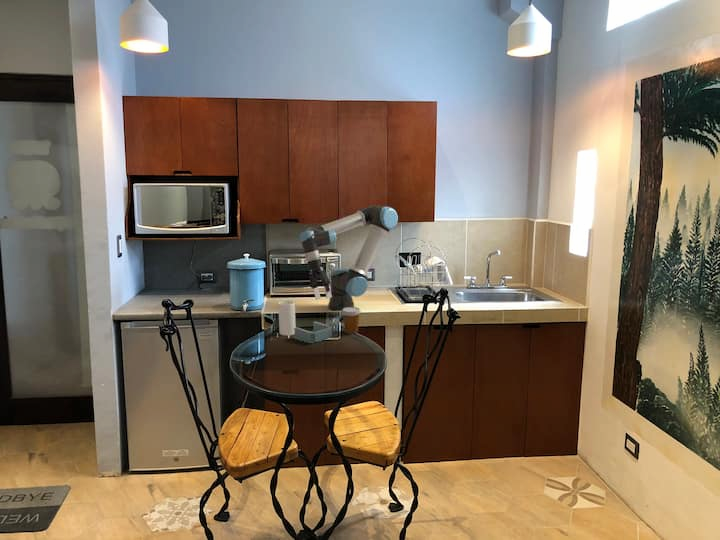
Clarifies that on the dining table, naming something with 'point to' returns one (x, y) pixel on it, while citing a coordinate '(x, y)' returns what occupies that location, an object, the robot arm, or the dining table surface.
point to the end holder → (314, 333)
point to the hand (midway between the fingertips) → (323, 298)
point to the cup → (286, 317)
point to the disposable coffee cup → (351, 319)
